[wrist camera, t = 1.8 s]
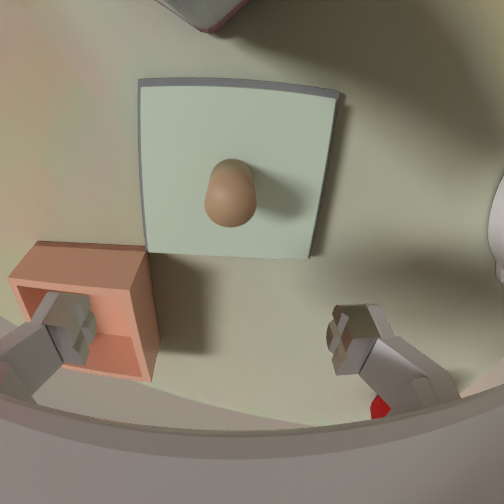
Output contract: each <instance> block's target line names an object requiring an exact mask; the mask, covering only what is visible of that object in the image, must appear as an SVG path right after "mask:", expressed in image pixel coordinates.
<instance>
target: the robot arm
mask: <svg viewBox="0 0 504 504" xmlns="http://www.w3.org/2000/svg"><path fill="white" fill-rule="evenodd" d="M488 241H489V246H490V249H491V252H492V254H493V256H494V257H495V260H496V277H497V279H499V280H500V281H501V282H502V283H504V176H503V178H502V180H501V182H500V185H499V187H498V189H497V192H496V194H495V197H494V200H493V204H492V207H491V211H490V216H489V224H488ZM90 306H91V302H90V299H89V297H88V296H86V295H80V294H72V293H64V292H54V291H49V292H47V293H46V295H45V297H44V298H43V300H42V302H41V303H40V305H39V307H38V308H37V310H36V312H35V313H34V315H33V317H32V319H31V320H30V322H25V323H24V324H22V325H21V326H19V327H18V328H16V329H15V330H13V331H12V332H10V333H9V334H8V335H6V336H4V337H3V338H1V339H0V504H504V384H502V385H500V386H497V387H494V388H491V389H489V390H486V391H483V392H480V393H477V394H474V395H471V396H468V397H464V398H461V397H460V395H459V393H458V391H457V389H456V387H455V385H454V383H453V381H452V379H451V377H450V375H449V373H448V371H446V370H445V369H444V368H442V367H441V366H439V365H438V364H437V363H435V362H434V361H433V360H431V359H430V358H428V357H427V356H426V355H424V354H423V353H421V352H420V351H419V350H417V349H416V348H415V347H413V346H412V345H410V344H409V343H408V342H406V341H405V340H403V339H402V338H401V337H399V336H397V337H395V335H394V333H393V331H392V329H391V327H390V325H389V323H388V321H387V319H386V317H385V315H384V313H383V311H382V309H381V307H380V306H379V305H378V304H355V305H336V306H335V307H334V310H333V313H332V315H333V318H334V320H332V321H331V322H330V323H329V325H328V328H327V335H326V340H327V346H328V350H329V351H331V352H332V353H333V354H334V355H333V358H332V363H333V367H334V370H335V373H336V375H350V374H359V376H360V377H361V378H362V379H363V380H364V381H365V382H366V383H367V384H368V385H369V386H370V387H371V388H372V389H373V390H374V391H375V392H376V393H377V394H378V395H379V396H380V397H381V398H382V399H383V400H384V401H385V402H386V403H387V404H388V405H389V406H390V407H391V408H392V409H391V410H390V411H389V413H388V414H387V415H386V416H385V417H383V418H377V419H371V420H365V421H359V422H352V423H345V424H337V425H329V426H319V427H309V428H298V429H297V428H296V429H280V430H251V431H250V430H248V431H228V430H226V431H224V430H223V431H222V430H196V429H180V428H168V427H157V426H148V425H139V424H131V423H124V422H118V421H111V420H106V419H100V418H94V417H89V416H84V415H79V414H75V413H69V412H65V411H61V410H57V409H53V408H49V407H45V406H41V405H38V404H37V403H36V401H35V400H34V399H33V397H32V395H33V394H34V393H35V392H36V391H37V390H38V389H39V388H40V387H41V386H42V385H43V383H45V382H46V381H47V380H48V379H49V378H50V377H51V376H52V375H53V374H54V373H55V372H56V371H57V370H58V369H59V368H60V367H61V366H62V365H63V363H68V364H75V365H82V366H85V364H86V361H87V358H88V355H89V352H90V350H89V347H88V345H89V344H90V343H92V342H93V341H94V338H95V335H96V328H97V325H96V318H95V315H94V314H93V313H92V312H91V311H90V310H89V309H90Z"/></svg>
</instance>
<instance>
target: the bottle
mask: <svg viewBox="0 0 504 504" xmlns="http://www.w3.org/2000/svg"><path fill="white" fill-rule="evenodd" d="M155 1H157V2H158V3H160V4H161V5H163V6H164V7H166V8H167V9H169V10H170V11H172V12H173V13H175V14H176V15H178V16H179V17H181V18H182V19H183V20H185V21H186V22H188V23H189V24H190V25H192V26H193V27H195V28H196V29H197V30H199V31H200V32H204V33H208V34H210V33H212V32H214V31H216V30H218V29H220V28H221V27H222V26H223V25H224V24H225V23H226V22H227V21H228V20H229V19H230V18H231V17H232V16H233V15H234V14H235V13H237V12H238V11H239V10H240V9H241V8H242V7H243V6H244V5H245V4H246V3H247V2H249V1H250V0H155Z"/></svg>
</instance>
